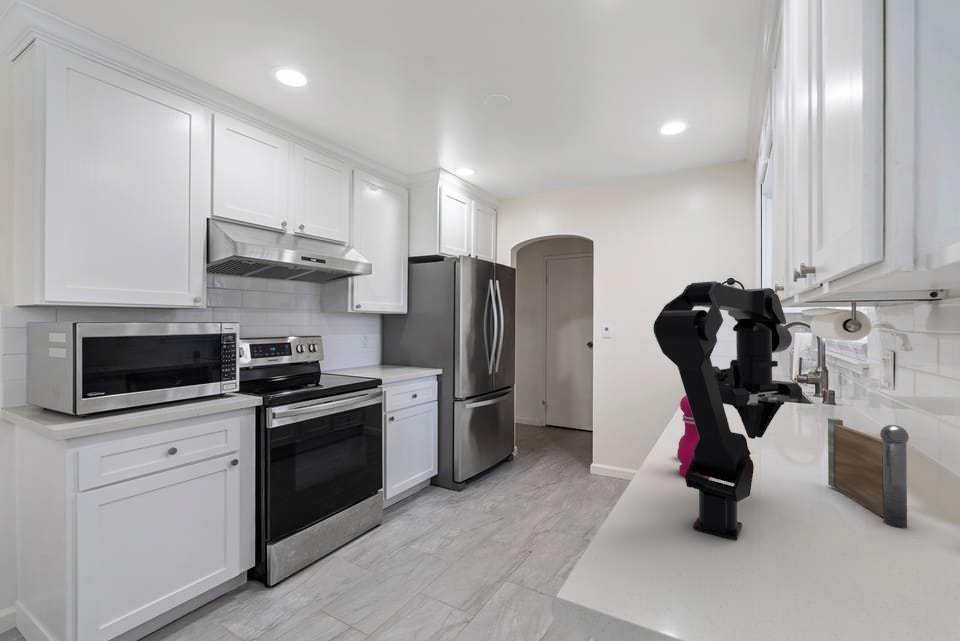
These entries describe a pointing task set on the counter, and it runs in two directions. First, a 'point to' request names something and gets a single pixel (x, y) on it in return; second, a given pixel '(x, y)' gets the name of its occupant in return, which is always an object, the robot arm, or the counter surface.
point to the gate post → (894, 475)
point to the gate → (855, 464)
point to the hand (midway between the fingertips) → (755, 437)
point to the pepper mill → (687, 438)
